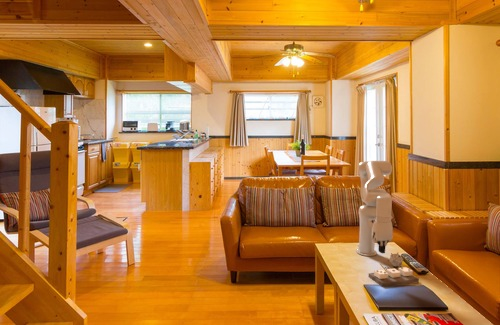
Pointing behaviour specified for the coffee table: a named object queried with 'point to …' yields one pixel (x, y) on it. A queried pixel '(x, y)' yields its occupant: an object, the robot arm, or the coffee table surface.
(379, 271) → the three dot tile
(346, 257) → the coffee table surface
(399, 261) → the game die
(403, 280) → the brown board
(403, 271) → the two pip cube
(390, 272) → the single pip block
